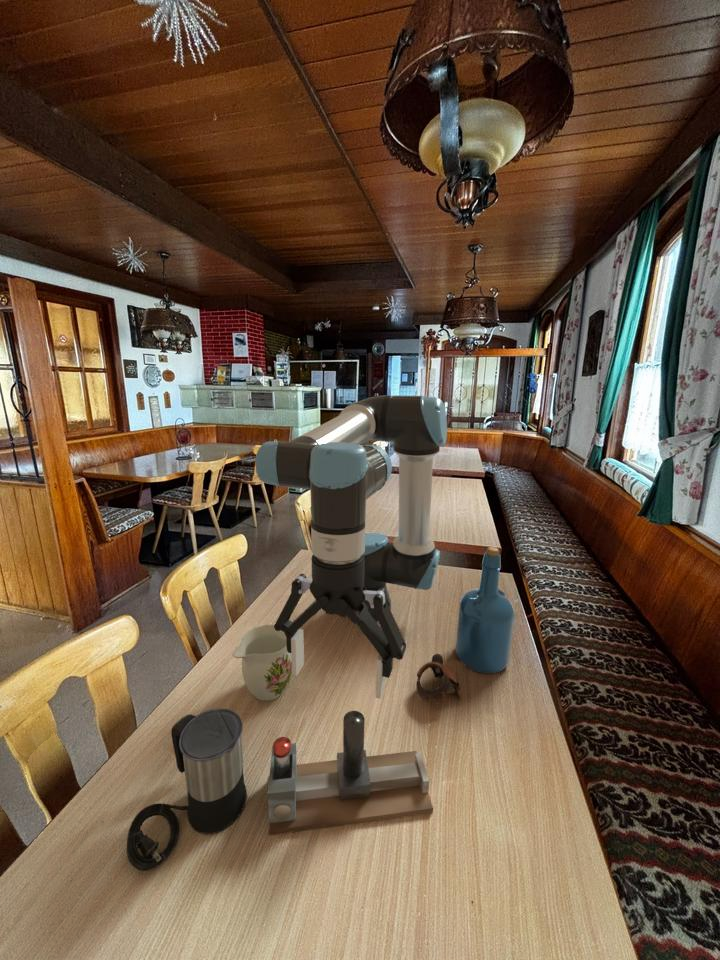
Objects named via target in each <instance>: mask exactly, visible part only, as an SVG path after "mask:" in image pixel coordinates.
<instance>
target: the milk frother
mask: <svg viewBox="0 0 720 960" xmlns="http://www.w3.org/2000/svg"><path fill="white" fill-rule="evenodd" d="M243 726H244V723H243V720H242V717H241V716H240V715H239V714H238V713H237V712H236V711H234V710H232V709H229V708H221V707H220V708H212V709H209V710H205V711H203V712H200V713H199V714H197V715H193V714H186V715H185V716H183V717H182V718H180V719H179V720H178V721H177V722H176V723H175V724H173V726H172V728H171V731H170V732H171V733H170V734H171V739H172V740H171V741H172V746H173V750H174V751H173V752H174V756H175V757H174V758H175V761H176V766H177V770H178V771H179V772H180V773H182V774H183V773H184V775H185V776H184V777H185V783H186V791H187V804H188V805H174V804H171V803H160V802H159V803H153V804H150V805H147V806H145V807H144V808H143V809H141V810H140V811H139V812H138V813H137V814H136V816H135V817H134V818H133V820H132V822H131V824H130V827H129V830H128V834H127V837H126V855H127V859H128V862H129V863H130V865H132V867H133V868H134V869H136V870H139V871H143V872H144V871H146V872H147V871H150V870H152V869H156V868H157V867H159V866H160V865H161V864H163V863H164V861H165V860H166V859H168V857H169V856H170V855H171V853H172V852H173V850H174V849H175V847H176V845H177V843H178V838H179V833H180V823H179V818H178V817H177V815H176V813H175V811H174V810H178V811H186V812H187V820H188V823H189V824H190V825H189V826H191V828H192V829H193V830H194V831H196V832H197V833H200V834H205V835H211V834H216V833H219V832H222V831H224V830H226V829H227V828H229V827H230V826H231V825H232V824H233V823H234V822H236V821H237V819H239V817H240V816H241V814H242V812H243V810H244V808H245V805H246V803H247V802H246V801H247V797H248V795H247V794H248V793H247V792H248V791H247V787H246V784H245V777H244V765H243V764H244V760H243V759H244V758H243V741H242V733H243ZM173 809H174V810H173ZM157 816H158V817H163V818H164V819H166V820H167V822H168V824H169V831H170V833H169V839H168V842H167V844H166V845H165V847H164V849H163V850H162V851H161V852H158V847H159V845H160V841H158V840H157V841H156V842H155V841H154V840H153V839H152V838H150V837H149V836H148V834H144V832H143V830H141V827H142V826H143V823H145V821H146V820H148V819H149V818H151V817H157Z"/></svg>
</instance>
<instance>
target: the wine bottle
mask: <svg viewBox="0 0 720 960" xmlns="http://www.w3.org/2000/svg"><path fill="white" fill-rule="evenodd" d="M501 557H502V556H501V554H500V550H499V548H497V547H495V546H489V547H487V550H486V551H485V552H484V555H483V558H482V563H481V567H482V569H481V574H480V581H479V588H478V587H477V588H472V589H470V590H469V591H467V592H465V593H464V594H463V595H462V596H461V597H460V601H459V608H458V619H457V630H456V631H457V632H456V633H457V634H456V643H455V654H456V656H457V657H458V659H459V660H460V662H461V663H462V665H464V666H465V667H468V669H471V670H472V671H473V672H478V673H483V674H487V675H490V674H496V673H500V672H502V671H503V670H504V669H505V668H506V667H507V666H508V665H509V664H510V657H511V651H512V644H513V643H512V642H513V635H514V628H515V620H516V613H515V607H514V604H513V603H512V601H511V600H510V599H509V598H508V597H507V596H506V594H507V593H506V592H504V591H502V590H501V589H499V586H500V584H499V583H500V570H502V564H501V560H502V558H501Z"/></svg>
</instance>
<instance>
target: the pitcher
mask: <svg viewBox="0 0 720 960" xmlns="http://www.w3.org/2000/svg"><path fill="white" fill-rule="evenodd" d="M274 625H275V624H264V625H260V626H257V627H254V628H252V629H251V630H249V631H248V632H247V633H245V634H244V636H243V637H242V639H241V642H240V644H239V646H237V648H235V649H234V651H233V653H232V656H233V658H236V659H242V660H241V673H242V678H243V681H244V684H245V687H246V688H247V689H248V691H249V693H250V694H251V695H252V696H253V697H254V698H256V699H257V700H259V701H261V702H269V701H270V702H271V701H274V700H276V699H278V698H279V697H281V695H282V694H283V693H284V692H285V690H286V689H287V687H288V686H289V683H290V681H291V677H292V656H291V653H288V651H287V642H286V635H285V633H284V632H283V631H281V630H280V631H276V630H275V628H274ZM297 631H298V630H297Z"/></svg>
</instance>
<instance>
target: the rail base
mask: <svg viewBox="0 0 720 960" xmlns="http://www.w3.org/2000/svg"><path fill="white" fill-rule="evenodd" d="M417 752H418V751H417V750H414V751H413V750H412V751H404V752H397V753H388V754H386V753H385V754H378V755H369V756H366V757H367V763H368V769H369V776H370V782H371V792H370V797H364V798H357V799H349V800H341V801H339V779H338V772H337V759H335V760H325V761H317V762H308V763H300V764H297V763H298V762H297V761H298V760H297V742H293V743H291V751H290V753H289V761H290V770H289V772H288V773H287V774H286V775H284V776H279V775H278V774H277V773H276V761H275V755H274V754H273V745H272V747H271V755H270V756H271V757H270V766H269V767H270V768H269V778H268V789H267V802H268V817H269V818H268V820H269V824H268V825H269V827H268V836H275V835H281V834H289V833H296V832H297V833H298V832H304V831H305V832H306V831H310V830H311V831H312V830H318V829H326V828H332V827H340V826H346V825H354V824H355V825H356V824H361V823H369V822H376V821H384V820H391V819H398V818H403V817H410V816H411V817H412V816H413V817H414V816H419V815H426V814H433V813H434V806H433V804H432V801H431V797H430V793H429V789H430V779H429V775H428V772H427V768H426V766H425V762H424V759H423V756H422V752H418V753H417Z"/></svg>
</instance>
